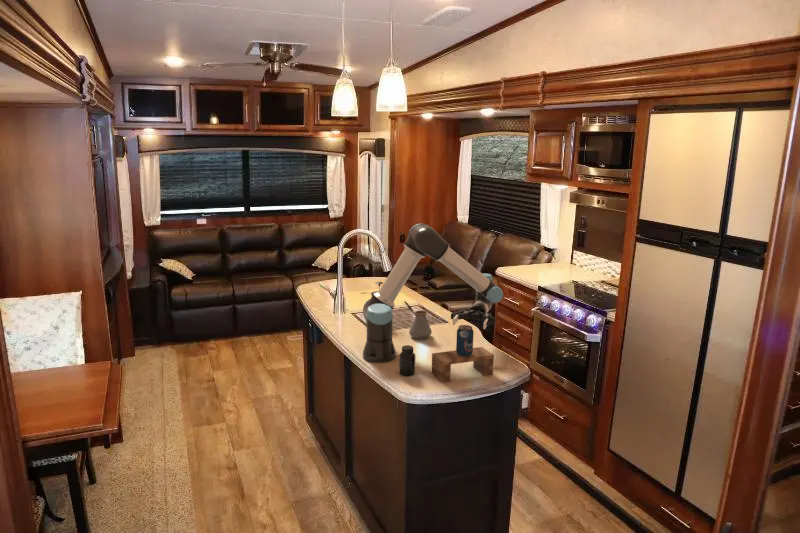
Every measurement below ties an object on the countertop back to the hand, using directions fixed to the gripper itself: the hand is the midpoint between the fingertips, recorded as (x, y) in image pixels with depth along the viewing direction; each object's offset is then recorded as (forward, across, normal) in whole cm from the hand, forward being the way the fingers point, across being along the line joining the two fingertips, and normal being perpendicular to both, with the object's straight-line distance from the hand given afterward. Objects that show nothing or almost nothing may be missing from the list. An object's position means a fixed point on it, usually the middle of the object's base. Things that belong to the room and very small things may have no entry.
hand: (468, 324), depth 239 cm
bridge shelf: (+11, -1, -19) cm, 22 cm away
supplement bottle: (+20, +21, -19) cm, 35 cm away
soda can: (+11, -1, -10) cm, 15 cm away
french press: (-38, +57, -19) cm, 71 cm away
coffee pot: (-29, +34, -19) cm, 48 cm away
